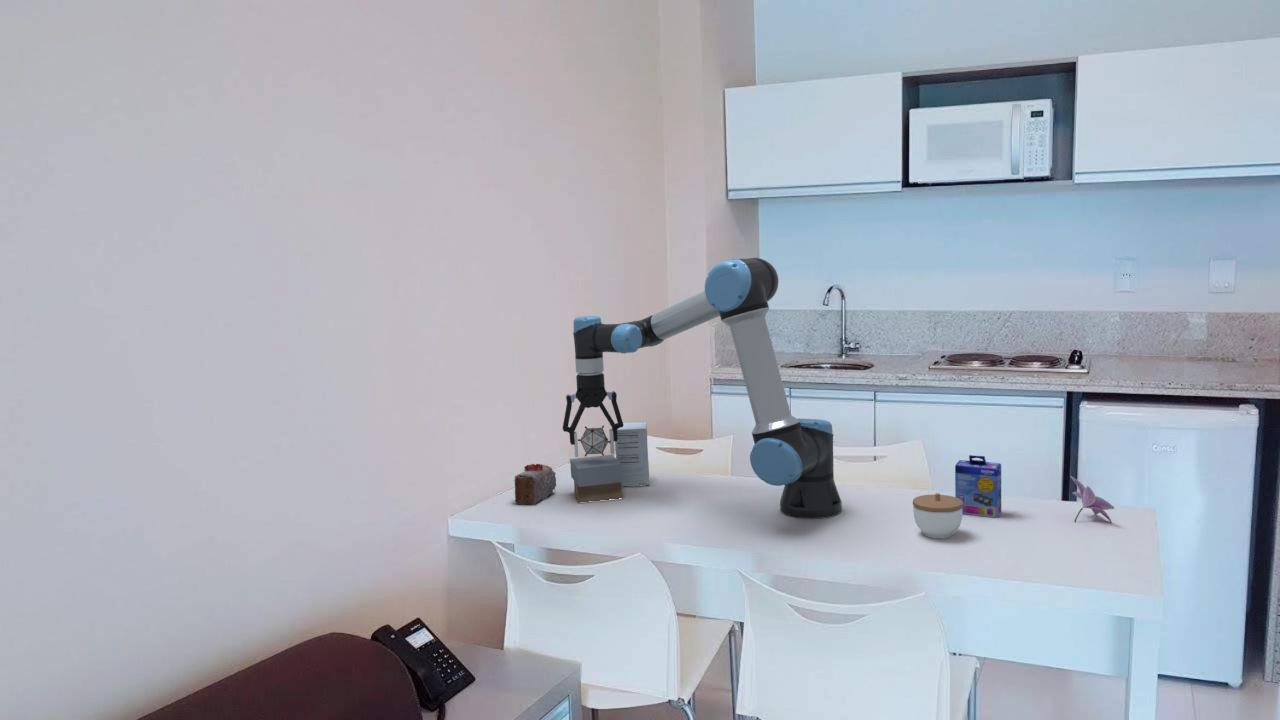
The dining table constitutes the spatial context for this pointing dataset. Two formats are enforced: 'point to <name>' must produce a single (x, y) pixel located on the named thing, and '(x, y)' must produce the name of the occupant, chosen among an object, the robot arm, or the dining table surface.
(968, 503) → the ink cartridge box
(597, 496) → the tower base
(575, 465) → the tower top
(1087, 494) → the lily
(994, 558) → the dining table surface
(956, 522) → the lidded jar
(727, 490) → the dining table surface
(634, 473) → the supplement box
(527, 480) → the food item
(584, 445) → the game die
